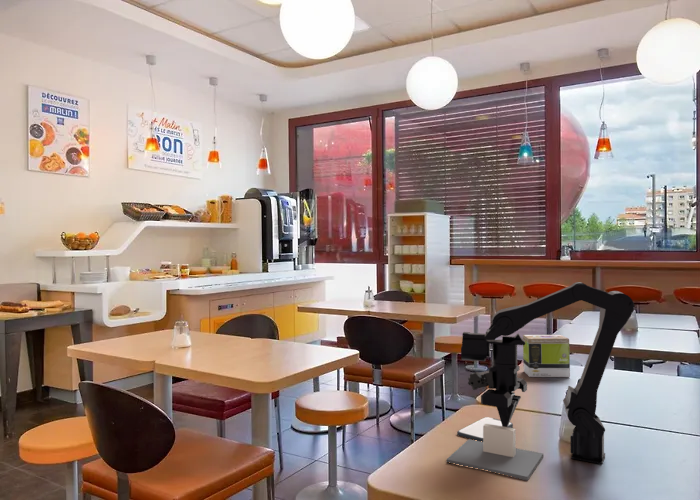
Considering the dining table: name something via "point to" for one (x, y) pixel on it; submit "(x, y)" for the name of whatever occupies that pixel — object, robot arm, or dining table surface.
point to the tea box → (546, 356)
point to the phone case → (479, 428)
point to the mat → (496, 460)
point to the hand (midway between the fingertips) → (505, 426)
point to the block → (499, 440)
